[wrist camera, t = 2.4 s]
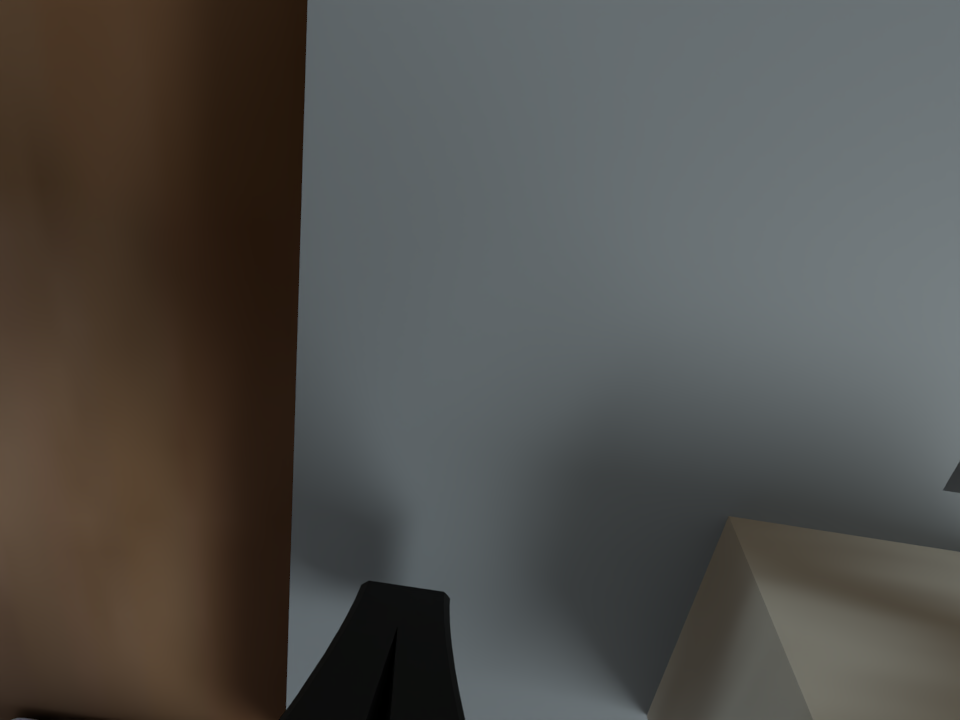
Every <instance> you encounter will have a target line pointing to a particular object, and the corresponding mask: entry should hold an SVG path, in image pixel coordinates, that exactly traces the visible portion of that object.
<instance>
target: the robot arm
mask: <svg viewBox="0 0 960 720" xmlns="http://www.w3.org/2000/svg"><path fill="white" fill-rule="evenodd" d="M12 720H37V719H30V718H15V719H12ZM279 720H465V716H464V711H463V707H462V702H461V697H460V693H459V687H458V682H457V676H456V670H455V663H454V656H453V649H452V640H451V629H450V598H449V596H448V595H447V594H446V593H445V592H443V591H436V590H430V589H423V588H416V587H410V586H403V585H396V584H390V583H383V582H376V581H370V580H369V581H367V582H365V583H363V584H361V586H360V589H359V591H358V593H357V596H356V598H355V600H354V602H353V604H352V606H351V608H350V610H349V612H348V614H347V616H346V617H345V619H344V621H343V623H342V625H341V626H340V628H339V630H338V632H337V633H336V635H335V637H334V638H333V640H332V642H331V643H330V645H329V647H328V648H327V650H326V652H325V653H324V655H323V656H322V658H321V659H320V661H319V662H318V664H317V665H316V667H315V668H314V670H313V671H312V673H311V674H310V676H309V678H308V679H307V681H306V682H305V684H304V685H303V687H302V688H301V690H300V691H299V693H298V694H297V695H296V697H295V698H294V700H293V701H292V703H291V704H290V705H289V707H288V708H287V709H286V711H285V712H284V713H283V715H282V716H281V717H280V719H279Z"/></svg>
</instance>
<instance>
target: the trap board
mask: <svg viewBox="0 0 960 720" xmlns="http://www.w3.org/2000/svg"><path fill="white" fill-rule="evenodd" d="M729 516H731V517H738V518H744V519H751V520H757V521H764V522H770V523H777V524H783V525H790V526H796V527H802V528H809V529H815V530H822V531H828V532H835V533H841V534H848V535H854V536H861V537H867V538H874V539H880V540H886V541H893V542H899V543H906V544H912V545H919V546H925V547H932V548H938V549H945V550H951V551H957V552H960V0H308V6H307V39H306V71H305V104H304V137H303V170H302V203H301V236H300V269H299V301H298V334H297V367H296V400H295V433H294V466H293V499H292V531H291V564H290V597H289V630H288V663H287V696H286V709H287V708H288V707H289V705H290V704H291V703H292V701H293V700H294V698H295V697H296V695H297V694H298V693H299V691H300V690H301V688H302V687H303V685H304V684H305V682H306V681H307V679H308V678H309V676H310V674H311V673H312V671H313V670H314V668H315V667H316V665H317V664H318V662H319V661H320V659H321V658H322V656H323V655H324V653H325V652H326V650H327V648H328V647H329V645H330V643H331V642H332V640H333V638H334V637H335V635H336V633H337V632H338V630H339V628H340V626H341V625H342V623H343V621H344V619H345V617H346V616H347V614H348V612H349V610H350V608H351V606H352V604H353V602H354V600H355V598H356V596H357V593H358V591H359V589H360V586H361V584H363V583H365V582H367V581H369V580H370V581H376V582H383V583H390V584H396V585H403V586H410V587H416V588H423V589H430V590H436V591H443V592H445V593H446V594H447V595H448V596H449V598H450V629H451V640H452V649H453V656H454V663H455V670H456V676H457V682H458V687H459V693H460V697H461V702H462V707H463V711H464V716H465V720H648V719H647V714H648V711H649V709H650V706H651V704H652V701H653V699H654V697H655V694H656V692H657V689H658V687H659V684H660V682H661V680H662V677H663V675H664V672H665V670H666V667H667V665H668V662H669V660H670V658H671V655H672V653H673V650H674V648H675V645H676V643H677V641H678V638H679V636H680V633H681V631H682V628H683V626H684V624H685V621H686V619H687V616H688V614H689V611H690V609H691V607H692V604H693V602H694V599H695V597H696V594H697V592H698V590H699V587H700V585H701V582H702V580H703V577H704V575H705V573H706V570H707V568H708V565H709V563H710V560H711V558H712V556H713V553H714V551H715V548H716V546H717V543H718V541H719V538H720V536H721V534H722V531H723V529H724V526H725V524H726V521H727V519H728V517H729Z"/></svg>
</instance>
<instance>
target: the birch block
mask: <svg viewBox="0 0 960 720" xmlns="http://www.w3.org/2000/svg"><path fill="white" fill-rule="evenodd" d="M647 719H648V720H960V552H957V551H951V550H945V549H938V548H932V547H925V546H919V545H912V544H906V543H899V542H893V541H886V540H880V539H874V538H867V537H861V536H854V535H848V534H841V533H835V532H828V531H822V530H815V529H809V528H802V527H796V526H790V525H783V524H777V523H770V522H764V521H757V520H751V519H744V518H738V517H731V516H729V517H728V519H727V521H726V524H725V526H724V529H723V531H722V534H721V536H720V538H719V541H718V543H717V546H716V548H715V551H714V553H713V556H712V558H711V560H710V563H709V565H708V568H707V570H706V573H705V575H704V577H703V580H702V582H701V585H700V587H699V590H698V592H697V594H696V597H695V599H694V602H693V604H692V607H691V609H690V611H689V614H688V616H687V619H686V621H685V624H684V626H683V628H682V631H681V633H680V636H679V638H678V641H677V643H676V645H675V648H674V650H673V653H672V655H671V658H670V660H669V662H668V665H667V667H666V670H665V672H664V675H663V677H662V680H661V682H660V684H659V687H658V689H657V692H656V694H655V697H654V699H653V701H652V704H651V706H650V709H649V711H648V714H647Z"/></svg>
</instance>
